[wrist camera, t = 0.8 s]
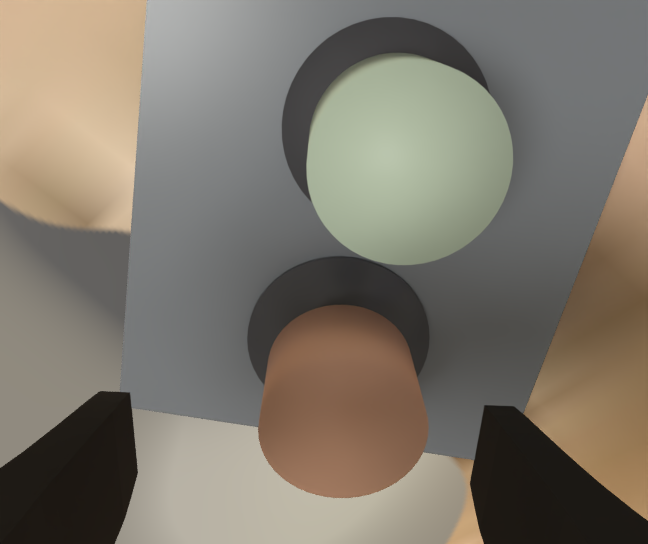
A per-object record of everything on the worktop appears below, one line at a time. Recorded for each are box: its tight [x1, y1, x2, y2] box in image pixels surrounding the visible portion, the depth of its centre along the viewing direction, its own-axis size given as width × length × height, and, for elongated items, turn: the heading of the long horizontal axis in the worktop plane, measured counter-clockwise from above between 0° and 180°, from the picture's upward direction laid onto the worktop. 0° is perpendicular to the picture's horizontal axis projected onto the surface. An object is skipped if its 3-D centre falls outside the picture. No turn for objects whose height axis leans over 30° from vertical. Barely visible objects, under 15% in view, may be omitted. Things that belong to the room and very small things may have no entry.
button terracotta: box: [258, 305, 429, 498], centre depth 17 cm, size 4×4×3 cm
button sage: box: [306, 53, 513, 265], centre depth 14 cm, size 4×4×3 cm
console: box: [120, 0, 648, 460], centre depth 18 cm, size 14×22×2 cm, turn 169°
